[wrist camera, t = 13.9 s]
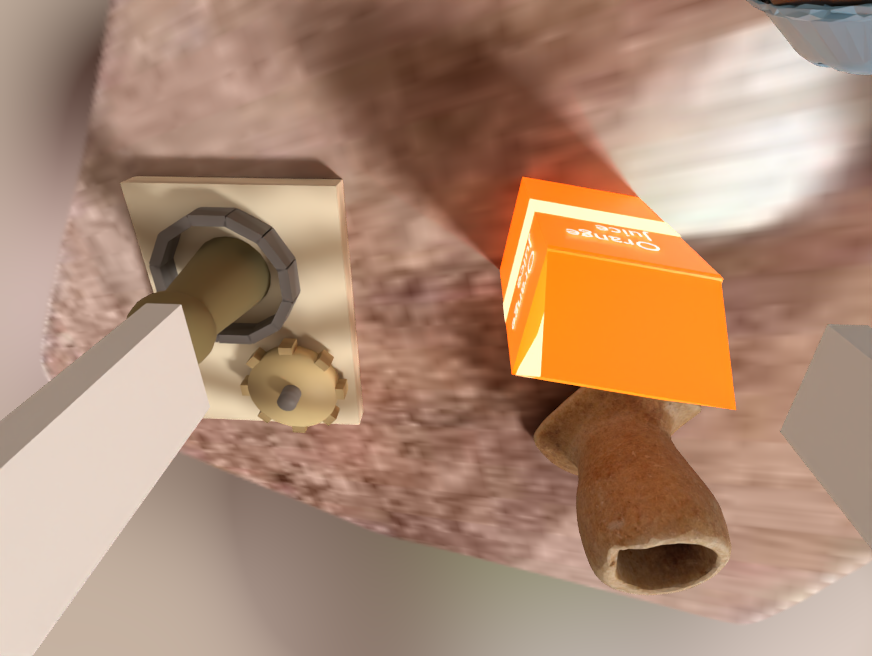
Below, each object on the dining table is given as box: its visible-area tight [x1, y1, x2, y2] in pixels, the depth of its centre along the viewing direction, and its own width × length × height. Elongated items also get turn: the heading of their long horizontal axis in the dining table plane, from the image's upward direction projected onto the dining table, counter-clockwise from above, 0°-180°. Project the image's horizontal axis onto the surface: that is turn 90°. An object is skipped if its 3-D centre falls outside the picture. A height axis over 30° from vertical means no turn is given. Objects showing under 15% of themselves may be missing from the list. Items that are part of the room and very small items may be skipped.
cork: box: [127, 236, 271, 364], centre depth 35 cm, size 6×6×11 cm
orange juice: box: [500, 177, 736, 410], centre depth 30 cm, size 8×9×20 cm
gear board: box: [120, 176, 363, 433], centre depth 41 cm, size 22×16×6 cm
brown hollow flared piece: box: [534, 387, 731, 595], centre depth 40 cm, size 15×12×15 cm
